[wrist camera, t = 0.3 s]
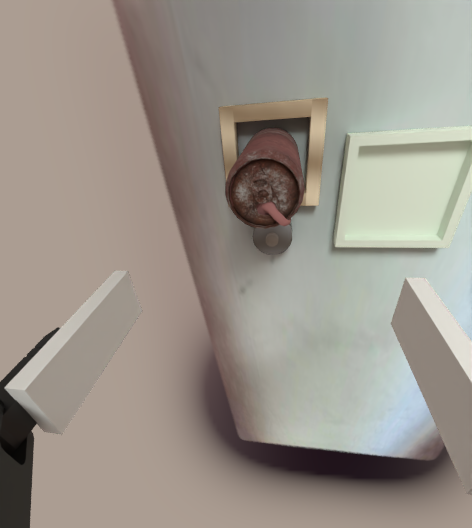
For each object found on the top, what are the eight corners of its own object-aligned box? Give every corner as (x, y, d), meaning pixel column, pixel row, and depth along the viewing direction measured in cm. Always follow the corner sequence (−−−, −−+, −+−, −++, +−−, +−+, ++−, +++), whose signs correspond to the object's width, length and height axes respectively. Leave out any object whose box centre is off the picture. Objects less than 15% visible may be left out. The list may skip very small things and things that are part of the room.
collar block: (221, 106, 29) (215, 108, 27) (326, 97, 28) (330, 98, 25) (234, 245, 39) (231, 257, 36) (313, 246, 37) (315, 258, 34)
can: (274, 193, 34) (268, 248, 22) (235, 158, 32) (207, 199, 21) (311, 154, 31) (326, 195, 19) (270, 114, 29) (259, 132, 18)
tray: (346, 133, 29) (350, 136, 27) (484, 124, 27) (497, 127, 25) (332, 239, 36) (335, 247, 34) (440, 240, 34) (448, 247, 32)
